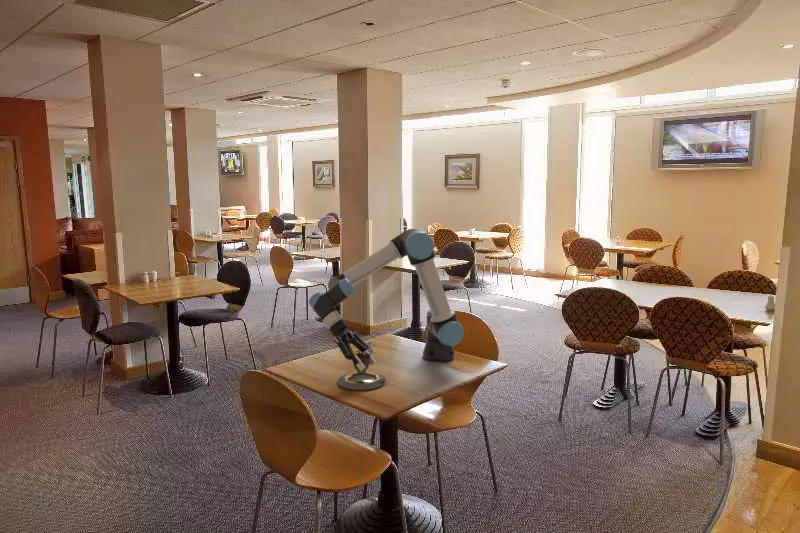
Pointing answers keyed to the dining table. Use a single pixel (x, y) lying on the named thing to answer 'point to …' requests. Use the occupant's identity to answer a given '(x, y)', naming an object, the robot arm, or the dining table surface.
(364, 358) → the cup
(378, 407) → the dining table surface
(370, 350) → the game die
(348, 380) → the carrier plate
